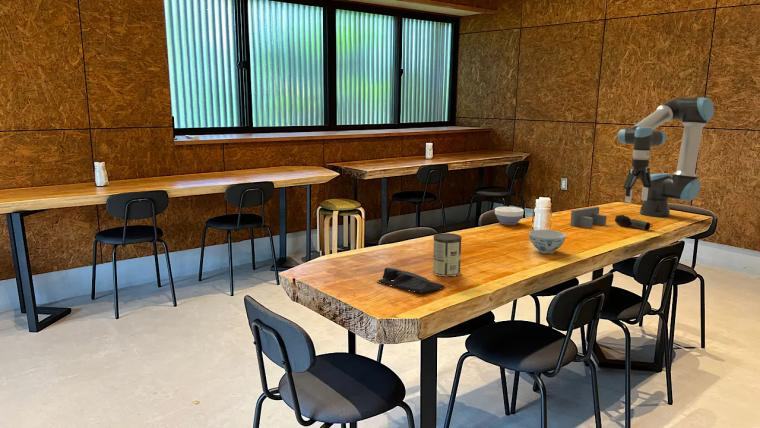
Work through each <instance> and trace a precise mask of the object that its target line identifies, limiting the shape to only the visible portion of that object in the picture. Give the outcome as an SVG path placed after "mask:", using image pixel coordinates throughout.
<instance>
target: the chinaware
mask: <svg viewBox="0 0 760 428" xmlns="http://www.w3.org/2000/svg"><path fill="white" fill-rule="evenodd" d="M566 236H567V235H566V233H564V232H562V231H557V230H552V229H534V230H531V231H529V232H528V237H529V240H530V242H531V244H532V245H533V247H535V249H537V251H538V252H539V253H542V254H546V253H551V254H554V253H555V251H556V250H558V249H560V248H561V247H562V246H563V244H564V243H565V241H566V240H565V239H566Z"/></svg>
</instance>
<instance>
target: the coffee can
mask: <svg viewBox="0 0 760 428" xmlns="http://www.w3.org/2000/svg"><path fill="white" fill-rule="evenodd" d="M462 239H463V237H462V235H459V234H458V233H457V234H456V233H452V232H451V233H449V232H448V233H447V232H444V233H443V232H441V233H436V234H434V235H433V256H432V257H433V259H432V261H433V262H432V263H433V264H432V268H433V269H432V274H433V273H434V274H433V275H435V274H437V275H440V276H439V277H441V276H455V277H457V276H456V275H458V276H460V275H461V258H462V257H461V256H462V255H461V254H462ZM459 274H460V275H459ZM437 275H436V276H437Z"/></svg>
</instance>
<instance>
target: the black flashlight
mask: <svg viewBox="0 0 760 428" xmlns="http://www.w3.org/2000/svg"><path fill="white" fill-rule="evenodd" d="M614 222H615V224H618V226H620V227H622V228H630V227H632V228H634V229H635V228H636V229H639V230H643V231H649V230H650V228H651V223H650V222H649V221H645V220H639V219H635V218H630V217H629V216H626V215H625V214H620V215H616V216H615V219H614Z"/></svg>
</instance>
